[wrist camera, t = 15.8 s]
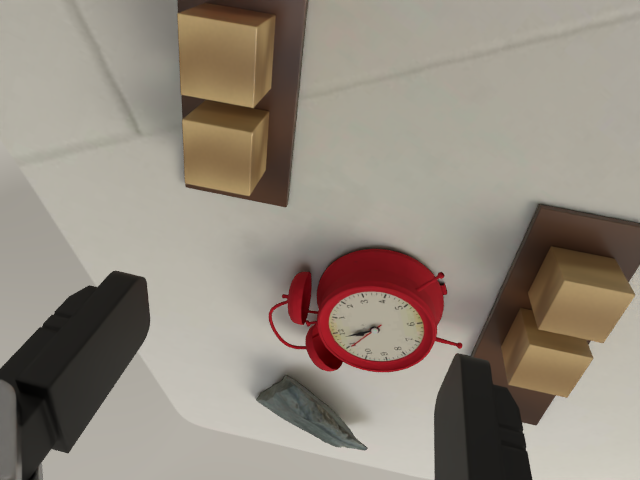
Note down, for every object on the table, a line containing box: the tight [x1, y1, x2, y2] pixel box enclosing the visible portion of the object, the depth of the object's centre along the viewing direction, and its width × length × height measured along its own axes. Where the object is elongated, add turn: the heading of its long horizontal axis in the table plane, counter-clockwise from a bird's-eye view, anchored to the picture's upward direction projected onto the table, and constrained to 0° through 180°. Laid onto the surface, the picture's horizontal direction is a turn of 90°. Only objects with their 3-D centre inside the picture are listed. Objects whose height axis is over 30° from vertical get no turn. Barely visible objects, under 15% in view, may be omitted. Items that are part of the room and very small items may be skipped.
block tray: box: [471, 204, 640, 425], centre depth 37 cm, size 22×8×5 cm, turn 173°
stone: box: [256, 375, 367, 450], centre depth 48 cm, size 11×4×10 cm
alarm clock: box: [269, 249, 462, 372], centre depth 39 cm, size 10×6×15 cm
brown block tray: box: [177, 0, 308, 207], centre depth 29 cm, size 22×8×5 cm, turn 173°
